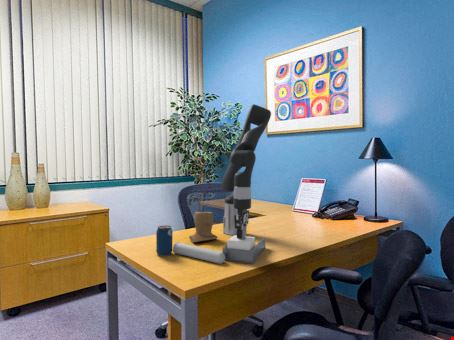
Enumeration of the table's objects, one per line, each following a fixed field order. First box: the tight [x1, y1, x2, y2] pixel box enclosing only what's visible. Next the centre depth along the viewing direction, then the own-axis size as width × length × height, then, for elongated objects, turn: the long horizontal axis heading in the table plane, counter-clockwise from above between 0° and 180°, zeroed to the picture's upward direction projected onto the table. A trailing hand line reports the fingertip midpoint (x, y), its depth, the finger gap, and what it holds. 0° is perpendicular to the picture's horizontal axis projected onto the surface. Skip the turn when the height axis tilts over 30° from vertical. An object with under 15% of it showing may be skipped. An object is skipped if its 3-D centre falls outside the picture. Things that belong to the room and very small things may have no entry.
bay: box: [221, 237, 266, 265], centre depth 137 cm, size 13×24×5 cm, turn 161°
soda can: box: [155, 225, 174, 257], centre depth 135 cm, size 7×7×12 cm
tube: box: [172, 241, 225, 264], centre depth 130 cm, size 5×5×25 cm
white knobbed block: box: [226, 226, 256, 251], centre depth 131 cm, size 10×9×12 cm
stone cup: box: [188, 211, 219, 244], centre depth 158 cm, size 15×12×15 cm
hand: (241, 236), depth 131 cm, fingers open, 5 cm apart
